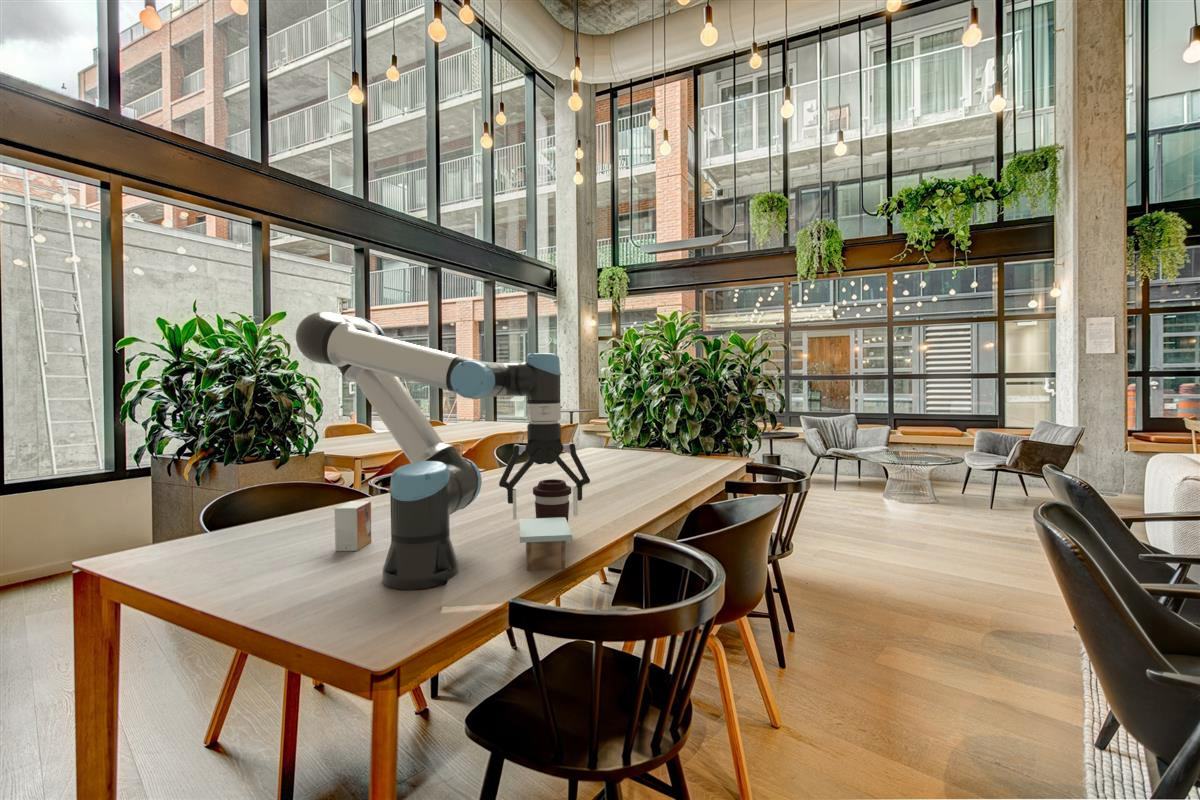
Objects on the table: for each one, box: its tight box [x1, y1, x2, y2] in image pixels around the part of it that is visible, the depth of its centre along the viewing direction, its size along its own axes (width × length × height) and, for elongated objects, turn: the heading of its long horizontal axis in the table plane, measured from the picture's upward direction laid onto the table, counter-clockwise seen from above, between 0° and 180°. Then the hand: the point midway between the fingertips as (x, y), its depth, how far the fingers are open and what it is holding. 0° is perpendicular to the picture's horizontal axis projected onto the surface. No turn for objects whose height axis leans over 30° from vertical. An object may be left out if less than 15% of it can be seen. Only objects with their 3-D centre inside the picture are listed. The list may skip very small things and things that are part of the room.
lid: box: [519, 517, 573, 544], centre depth 123 cm, size 11×15×2 cm
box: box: [525, 541, 566, 572], centre depth 123 cm, size 8×14×7 cm, turn 9°
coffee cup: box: [532, 478, 572, 524], centre depth 141 cm, size 10×10×15 cm
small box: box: [334, 500, 372, 552], centre depth 134 cm, size 8×6×10 cm
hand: (545, 516), depth 122 cm, fingers open, 13 cm apart
